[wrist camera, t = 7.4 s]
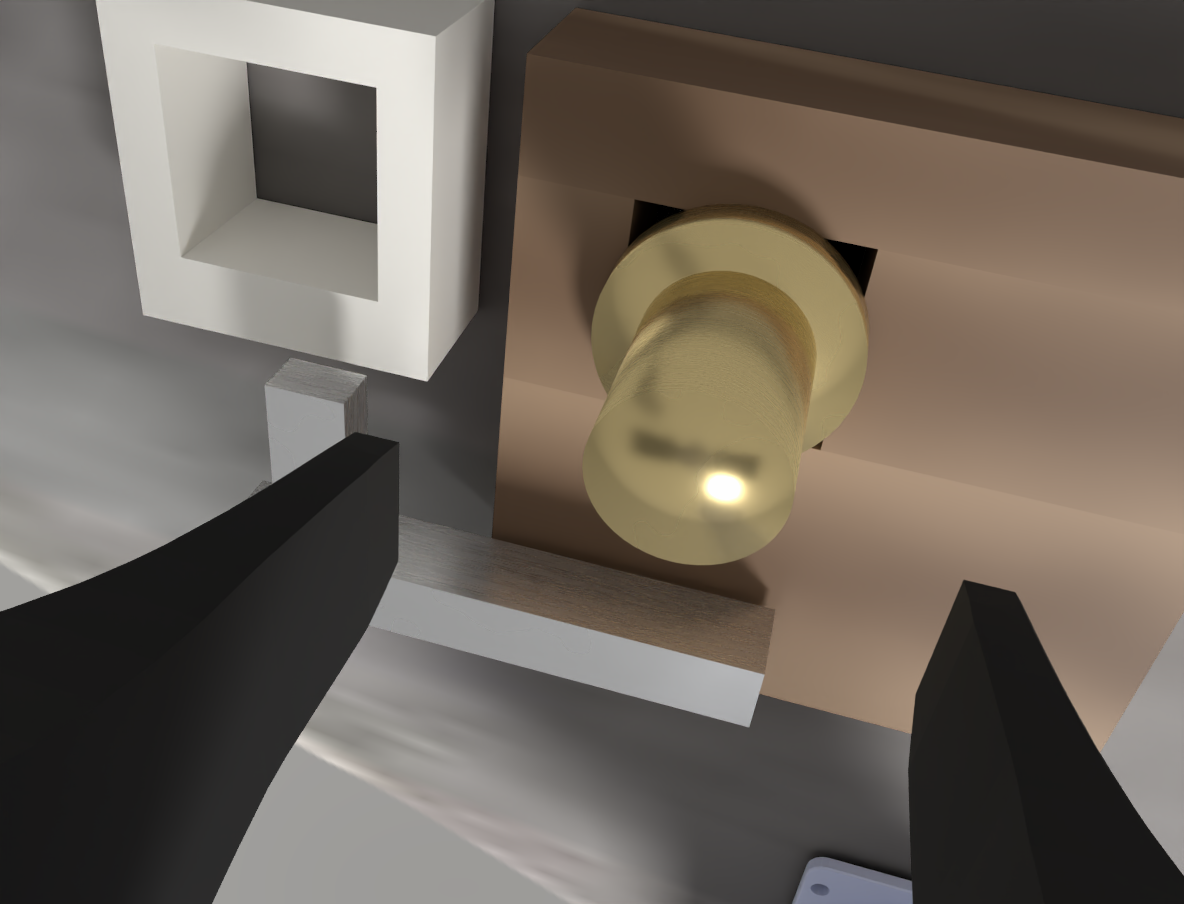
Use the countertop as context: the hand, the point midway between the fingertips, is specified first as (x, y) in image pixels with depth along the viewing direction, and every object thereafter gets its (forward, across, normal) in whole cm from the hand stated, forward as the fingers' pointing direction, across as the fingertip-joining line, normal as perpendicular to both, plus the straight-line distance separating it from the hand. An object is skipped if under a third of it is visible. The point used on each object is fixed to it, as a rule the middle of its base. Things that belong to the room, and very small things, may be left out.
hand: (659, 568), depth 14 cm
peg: (+6, 0, 0) cm, 6 cm away
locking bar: (+6, +4, +5) cm, 8 cm away
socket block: (+9, -2, +2) cm, 10 cm away
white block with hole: (+9, +8, -1) cm, 13 cm away
